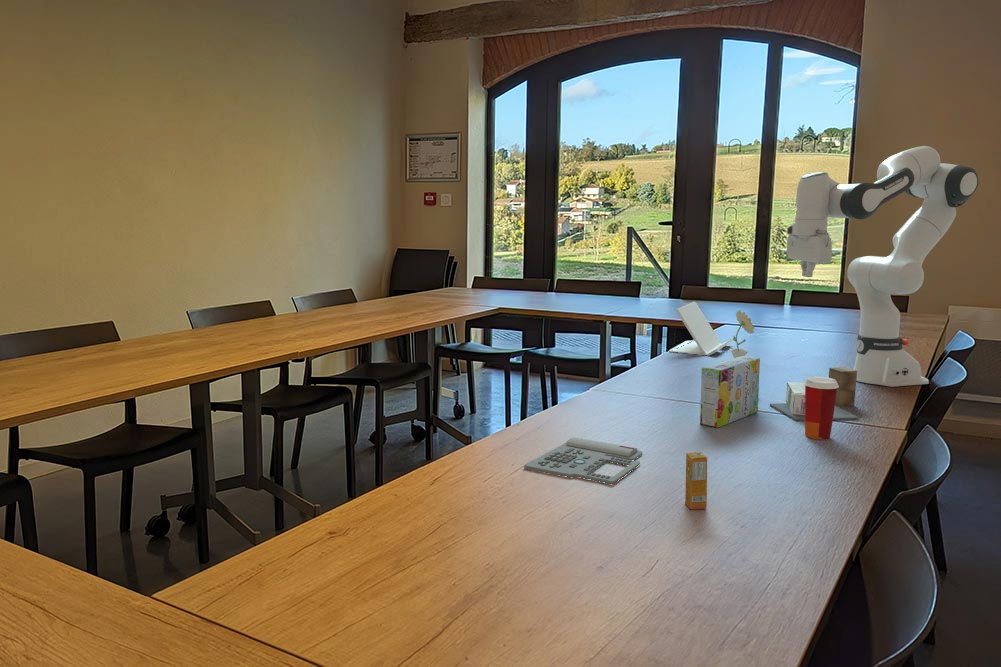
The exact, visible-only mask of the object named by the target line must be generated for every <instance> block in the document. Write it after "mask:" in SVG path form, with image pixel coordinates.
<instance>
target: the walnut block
mask: <svg viewBox="0 0 1001 667" xmlns="http://www.w3.org/2000/svg"><path fill="white" fill-rule="evenodd" d="M828 370H829V372H828V378H832V379H835V380H836V381H837V383H838V385H839V388H837V394H836V401H835V406H837V407H839V408H846V407H855V400H856V390H857V381H856V379H857V370H853V368H850V367H846V366H838V367H829V369H828Z"/></svg>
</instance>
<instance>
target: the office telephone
mask: <svg viewBox="0 0 1001 667" xmlns="http://www.w3.org/2000/svg"><path fill="white" fill-rule="evenodd" d="M640 455H642V456H643V451H642V450H639V449H638V448H636V447H630V446H625V445H620V444H614V443H608V442H603V441H598V440H592V439H588V438H587V439H586V438H579V437H576V436H572V437H570V438H568V440H567V441H566V442H564V443H563V444H561V445H559V446H557V447H555V448H553V449H551V450H549V451H548V452H546V453H544V454H542V455H540V456H539V457H536V458H534V459H533V460H530V461H528V462H527V463H525V464H523V466H524V469H525V470H528V471H532V470H534V471H533V472H537V471H540V472H539V473H542V472H545V473H544V474H547V473H550V474H549V475H552V474H554V475H553V476H557V475H560V476H559V477H562V476H567V477H581V478H585V479H591V480H594V481H593V482H595V481H600V482H605V483H608V484H614V483H616V482H617V481H618V480H619V479H621V478H622V477H624V476H625V475H626V474H628V473H629V472H630V471H632V470H633V469H635V468H636V467H637V466H638V465H639V464H640V465H641V462H640V461H638V460H637V459H638V458H637V457H639V456H640ZM640 457H641V456H640ZM640 457H639V458H640ZM636 458H637V459H636ZM635 459H636V460H635ZM632 460H634V461H632ZM605 462H606V463H607V462H613V463H618V464H624V465H629V466H625V467H624V468H623V469H622V470H620V471H619V472H617V473H616V474H615V475H613V476H610V475H605V474H601V473H595V471H596V470H597V469H599V468H600V467H602V466H603V465H605V464H606V463H605ZM604 463H605V464H604ZM613 463H612V464H613ZM602 464H603V465H602ZM618 464H617V465H618ZM601 465H602V466H601ZM599 466H600V467H599ZM598 467H599V468H598ZM596 468H597V469H596ZM637 468H638V467H637ZM637 468H636V469H637ZM595 469H596V470H595ZM636 469H635V470H636ZM594 470H595V471H594ZM592 471H593V472H592ZM591 472H592V473H591ZM632 472H633V471H632ZM628 475H629V474H628ZM567 477H566V478H567ZM624 478H625V477H624ZM585 479H584V480H585ZM600 482H599V483H600ZM608 484H607V485H608ZM616 484H617V483H616Z"/></svg>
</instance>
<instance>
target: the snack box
mask: <svg viewBox="0 0 1001 667" xmlns="http://www.w3.org/2000/svg"><path fill="white" fill-rule="evenodd" d="M760 362H761V358H760V357H756V356H750V355H749V356H748V355H745V356H740V357H737V358H734V357H733V358H730V359H727V360H724V361H721V362H716V363H713V364H710V365H707V366H703V367H701V380H700V381H701V382H700V384H701V385H700V416H699V424H700V425H701V424H703V425H702V426H706V425H708V426H707V427H711V426H712V428H715V427H716V428H715V429H719V428H721V427H723V425H724V426H726V425H728V424H731V423H733V421H734V422H736V421H739V420H741V419H744V418H746V417H749V416H751V415H754V414H756V413H758V412H759V394H760V393H759V391H760V388H759V386H760V368H761V367H760ZM718 427H719V428H718Z"/></svg>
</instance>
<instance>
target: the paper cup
mask: <svg viewBox="0 0 1001 667" xmlns="http://www.w3.org/2000/svg"><path fill="white" fill-rule="evenodd" d="M802 383H803V384H804V385H805V421H804V435H806V436H807V437H806V436H805V437H806V438H808V437H810V438H809V439H811V438H813V439H812V440H816V439H827V440H829V439H831V435H832V427H833V421H834V420H833V415H834V408H835V401H836V394H837V388H839V385H838V383H837V381H836V380H835V379H832V378H829V377H826V376H810V377H809V376H808V377H806V379H805V380H804V382H802Z"/></svg>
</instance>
